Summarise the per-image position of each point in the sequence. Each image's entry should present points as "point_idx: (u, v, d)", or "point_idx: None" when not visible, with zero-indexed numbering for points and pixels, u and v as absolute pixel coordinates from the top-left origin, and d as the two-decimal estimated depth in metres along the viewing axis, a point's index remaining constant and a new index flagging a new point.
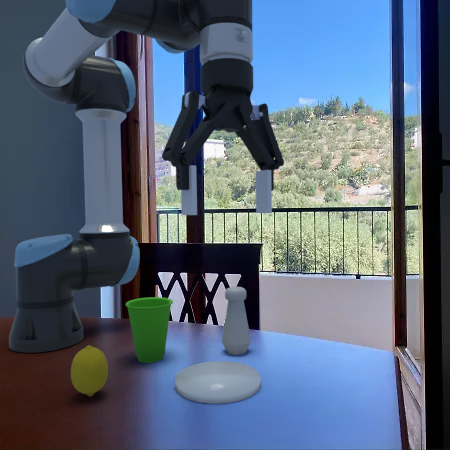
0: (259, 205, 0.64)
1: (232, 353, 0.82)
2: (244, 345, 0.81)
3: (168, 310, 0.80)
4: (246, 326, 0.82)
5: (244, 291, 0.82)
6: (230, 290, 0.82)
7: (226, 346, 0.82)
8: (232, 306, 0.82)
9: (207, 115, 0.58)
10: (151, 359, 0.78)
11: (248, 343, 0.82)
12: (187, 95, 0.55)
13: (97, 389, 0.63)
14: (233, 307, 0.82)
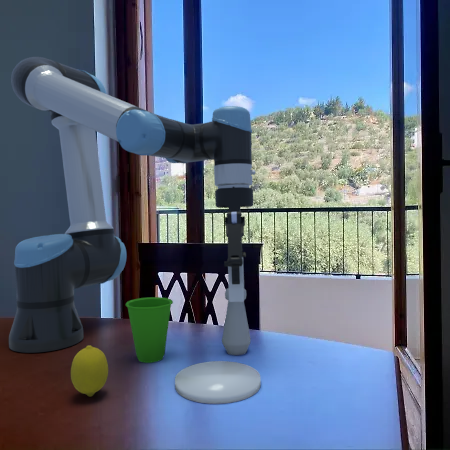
0: None
1: (232, 353, 0.82)
2: (244, 345, 0.81)
3: (168, 310, 0.80)
4: (246, 326, 0.82)
5: (244, 291, 0.82)
6: None
7: (226, 346, 0.82)
8: (232, 306, 0.82)
9: None
10: (151, 359, 0.78)
11: (248, 343, 0.82)
12: (234, 214, 0.76)
13: (97, 389, 0.63)
14: (233, 307, 0.82)
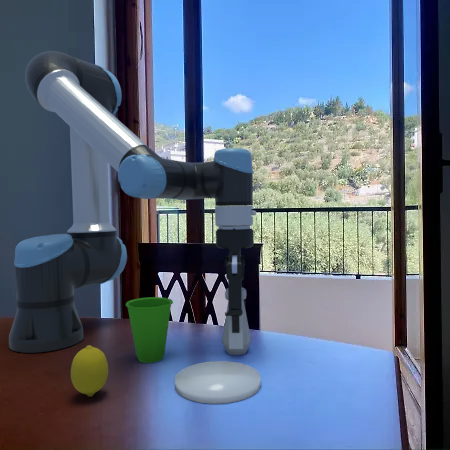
0: None
1: (232, 353, 0.82)
2: (244, 345, 0.81)
3: (168, 310, 0.80)
4: (246, 326, 0.82)
5: (244, 291, 0.82)
6: None
7: (226, 346, 0.82)
8: None
9: None
10: (151, 359, 0.78)
11: (248, 343, 0.82)
12: (234, 266, 0.76)
13: (97, 389, 0.63)
14: None
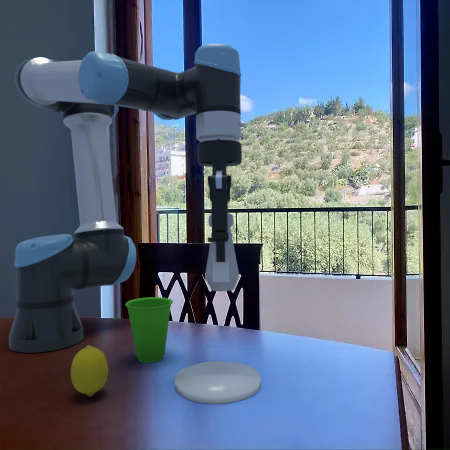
0: None
1: (217, 289, 0.69)
2: (231, 279, 0.69)
3: (168, 310, 0.80)
4: (233, 257, 0.70)
5: (231, 216, 0.70)
6: None
7: (210, 281, 0.69)
8: None
9: None
10: (151, 359, 0.78)
11: (236, 277, 0.70)
12: (219, 179, 0.64)
13: (97, 389, 0.63)
14: None
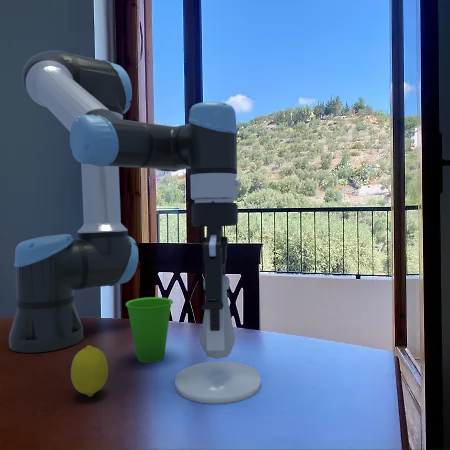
0: None
1: (211, 356, 0.67)
2: (226, 346, 0.66)
3: (168, 310, 0.80)
4: (229, 322, 0.67)
5: (227, 279, 0.67)
6: None
7: (204, 347, 0.67)
8: None
9: None
10: (151, 359, 0.78)
11: (231, 343, 0.67)
12: (212, 247, 0.61)
13: (97, 389, 0.63)
14: None
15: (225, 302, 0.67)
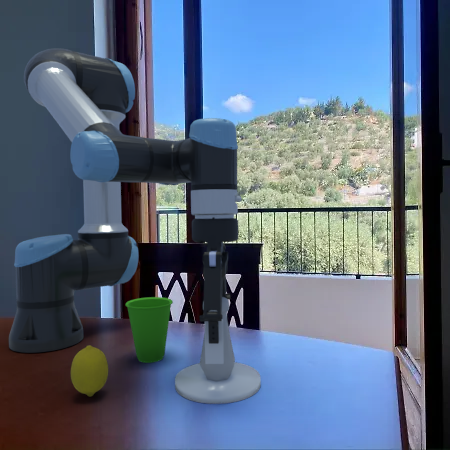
0: None
1: (212, 379, 0.67)
2: (226, 369, 0.66)
3: (168, 310, 0.80)
4: (229, 345, 0.67)
5: (226, 302, 0.67)
6: None
7: (204, 370, 0.67)
8: None
9: None
10: (151, 359, 0.78)
11: (231, 366, 0.67)
12: (213, 256, 0.61)
13: (97, 389, 0.63)
14: None
15: (225, 324, 0.67)
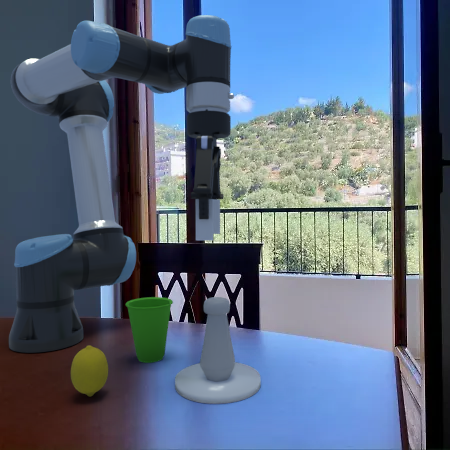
0: None
1: (212, 379, 0.67)
2: (226, 370, 0.66)
3: (168, 310, 0.80)
4: (229, 346, 0.67)
5: (227, 303, 0.67)
6: (209, 301, 0.67)
7: (204, 371, 0.67)
8: (212, 321, 0.67)
9: None
10: (151, 359, 0.78)
11: (232, 367, 0.67)
12: (204, 138, 0.65)
13: (97, 389, 0.63)
14: (214, 322, 0.67)
15: (225, 325, 0.67)
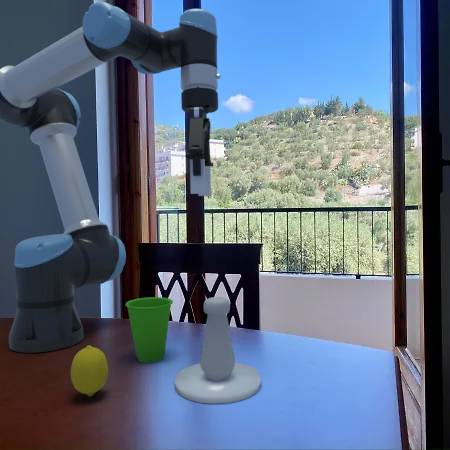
0: None
1: (212, 379, 0.67)
2: (226, 370, 0.66)
3: (168, 310, 0.80)
4: (229, 346, 0.67)
5: (227, 303, 0.67)
6: (209, 301, 0.67)
7: (204, 371, 0.67)
8: (212, 321, 0.67)
9: None
10: (151, 359, 0.78)
11: (232, 367, 0.67)
12: (196, 109, 0.79)
13: (97, 389, 0.63)
14: (214, 322, 0.67)
15: (225, 325, 0.67)
